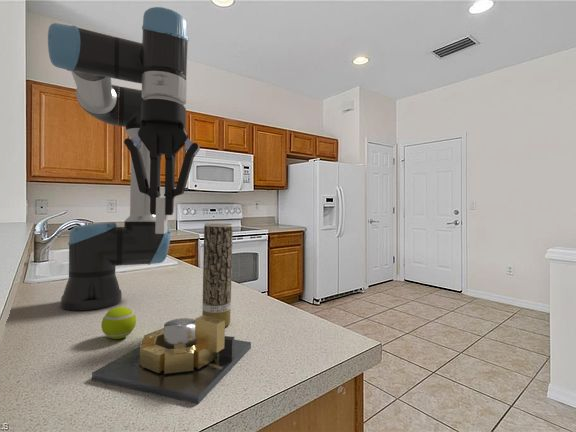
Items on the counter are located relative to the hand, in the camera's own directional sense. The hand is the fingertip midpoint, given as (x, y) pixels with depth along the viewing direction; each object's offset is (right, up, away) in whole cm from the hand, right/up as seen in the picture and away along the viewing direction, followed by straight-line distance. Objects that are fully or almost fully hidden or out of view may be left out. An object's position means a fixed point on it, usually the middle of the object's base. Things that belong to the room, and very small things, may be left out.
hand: (161, 232), depth 59 cm
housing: (+3, -24, +1) cm, 24 cm away
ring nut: (+5, -23, 0) cm, 23 cm away
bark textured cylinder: (+6, -24, +20) cm, 32 cm away
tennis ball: (-14, -24, +11) cm, 29 cm away
